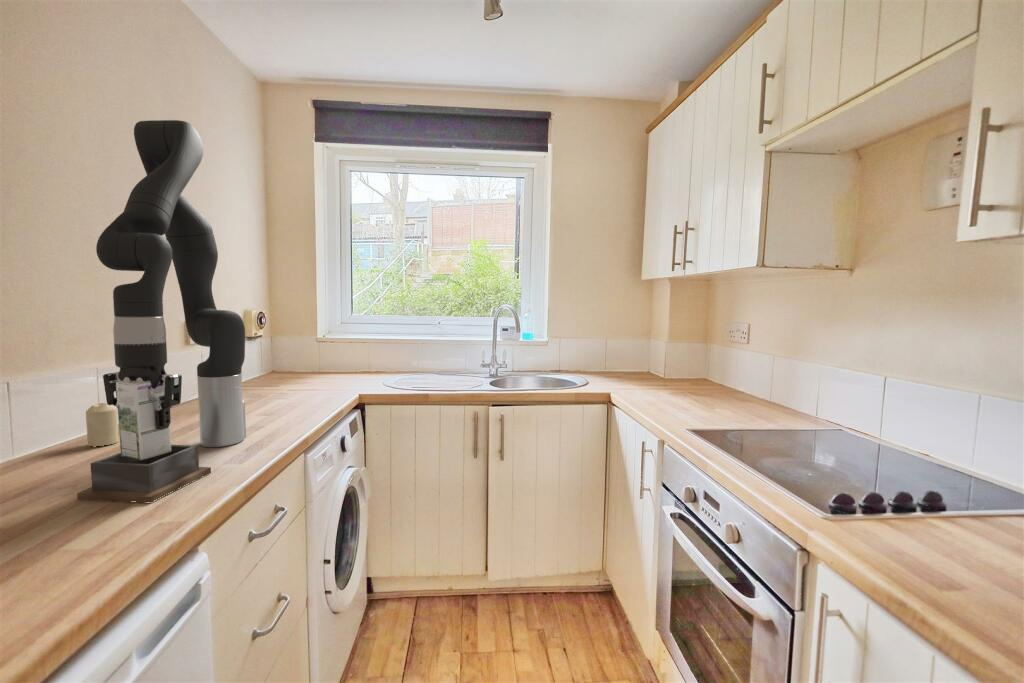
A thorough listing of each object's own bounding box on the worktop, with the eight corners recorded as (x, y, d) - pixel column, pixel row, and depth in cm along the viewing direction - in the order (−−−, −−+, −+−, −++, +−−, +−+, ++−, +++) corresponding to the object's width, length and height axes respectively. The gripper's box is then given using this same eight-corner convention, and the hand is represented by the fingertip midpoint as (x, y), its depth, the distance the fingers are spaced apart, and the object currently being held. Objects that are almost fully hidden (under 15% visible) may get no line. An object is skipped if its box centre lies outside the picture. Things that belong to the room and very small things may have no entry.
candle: (122, 443, 109) (119, 403, 108) (92, 449, 104) (89, 407, 103) (114, 439, 112) (111, 400, 111) (84, 444, 107) (82, 404, 106)
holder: (147, 469, 92) (146, 441, 92) (210, 472, 91) (209, 443, 91) (77, 499, 78) (75, 465, 78) (150, 503, 77) (149, 469, 77)
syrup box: (172, 451, 86) (169, 378, 85) (138, 461, 81) (134, 383, 79) (153, 447, 88) (149, 376, 87) (118, 457, 82) (114, 380, 81)
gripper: (192, 340, 86) (196, 424, 87) (124, 338, 87) (128, 421, 88) (159, 343, 78) (163, 435, 80) (84, 341, 79) (90, 431, 81)
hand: (145, 427), depth 84 cm, fingers closed on syrup box, 6 cm apart
